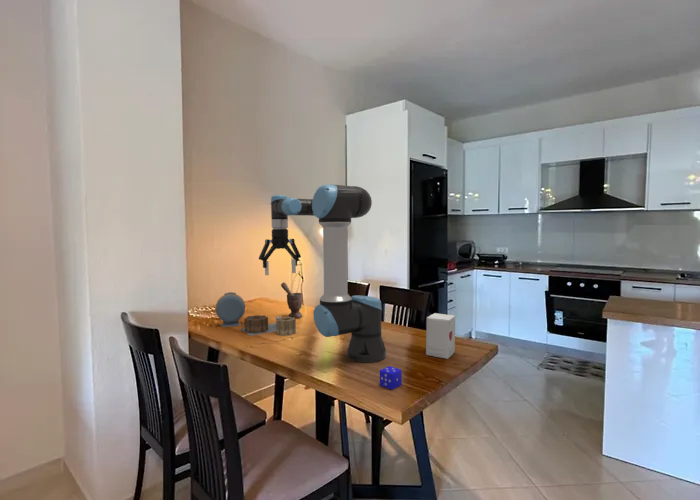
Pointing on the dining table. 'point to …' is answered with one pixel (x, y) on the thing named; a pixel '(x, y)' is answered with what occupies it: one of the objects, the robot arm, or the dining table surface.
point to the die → (390, 377)
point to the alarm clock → (230, 309)
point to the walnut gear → (256, 324)
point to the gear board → (270, 329)
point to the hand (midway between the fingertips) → (280, 274)
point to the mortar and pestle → (293, 302)
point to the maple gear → (286, 326)
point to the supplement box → (440, 335)
